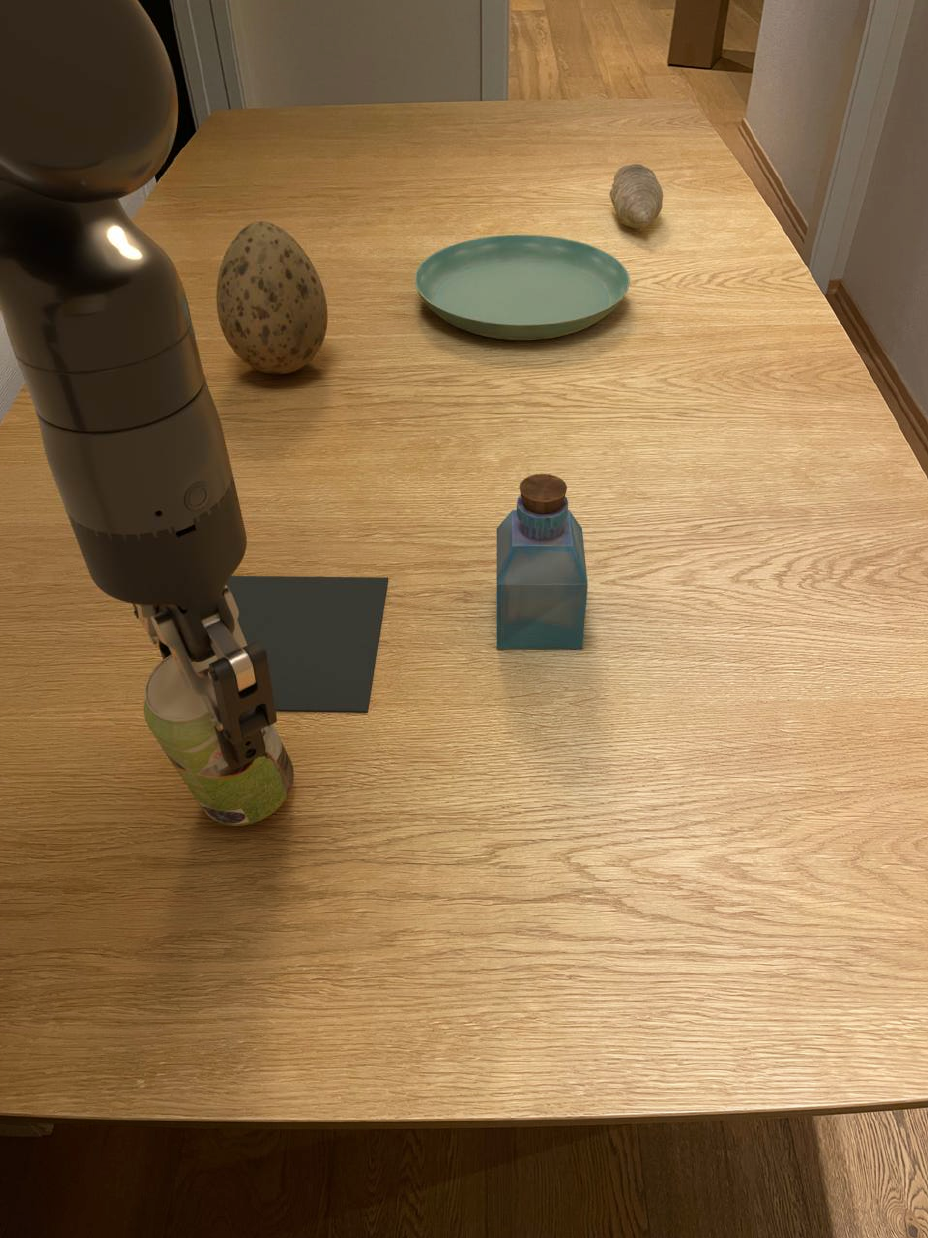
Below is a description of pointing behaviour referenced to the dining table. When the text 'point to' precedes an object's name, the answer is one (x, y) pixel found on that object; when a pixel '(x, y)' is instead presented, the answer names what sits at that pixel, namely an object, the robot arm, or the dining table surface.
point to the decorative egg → (270, 300)
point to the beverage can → (213, 752)
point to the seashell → (636, 195)
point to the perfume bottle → (541, 570)
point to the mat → (314, 636)
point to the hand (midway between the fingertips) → (219, 721)
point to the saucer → (521, 286)
